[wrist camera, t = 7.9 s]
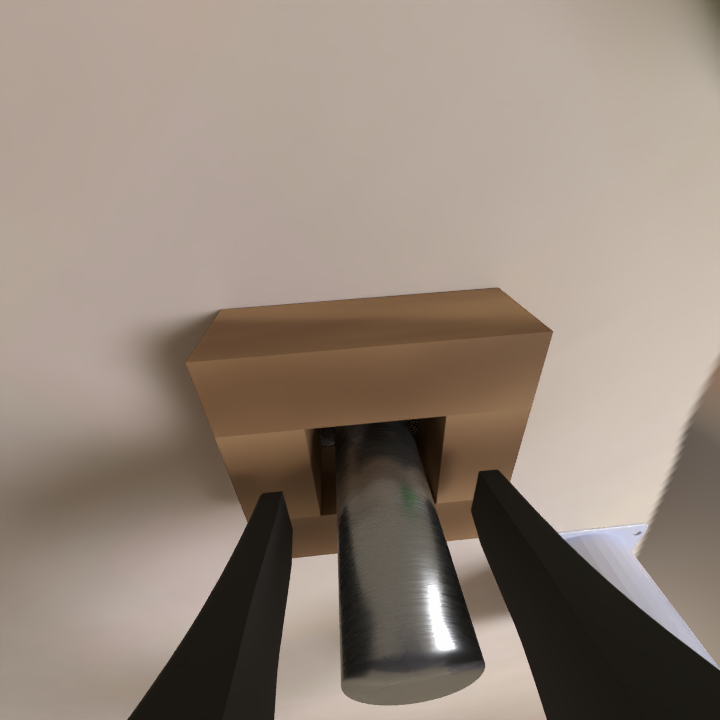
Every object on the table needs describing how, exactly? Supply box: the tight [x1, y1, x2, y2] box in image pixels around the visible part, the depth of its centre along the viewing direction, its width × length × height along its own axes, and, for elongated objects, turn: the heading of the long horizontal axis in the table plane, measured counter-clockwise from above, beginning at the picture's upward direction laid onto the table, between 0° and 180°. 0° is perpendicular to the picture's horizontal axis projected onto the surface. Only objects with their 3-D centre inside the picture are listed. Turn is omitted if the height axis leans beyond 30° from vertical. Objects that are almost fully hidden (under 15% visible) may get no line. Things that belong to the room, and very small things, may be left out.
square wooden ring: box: [185, 288, 553, 558], centre depth 13 cm, size 10×10×4 cm
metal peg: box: [335, 420, 485, 705], centre depth 11 cm, size 3×3×9 cm
